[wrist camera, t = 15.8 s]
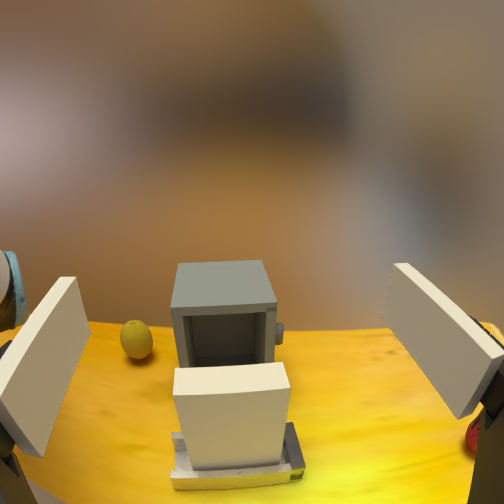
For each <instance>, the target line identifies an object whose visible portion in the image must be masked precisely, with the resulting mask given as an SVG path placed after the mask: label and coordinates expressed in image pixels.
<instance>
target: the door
mask: <svg viewBox="0 0 504 504" xmlns="http://www.w3.org/2000/svg"><path fill="white" fill-rule="evenodd" d="M289 396H290V384H289V381H288V378H287V375H286V371H285V368H284V365H283V362H275V363H264V364H252V365H238V366H221V367H198V368H175V376H174V387H173V398H174V402H175V406H176V410H177V414H178V418H179V422H180V426H181V430H182V434H183V437H184V441H185V445H186V448H187V452H188V455H189V459H190V462H191V466H192V469H193V471H215V470H233V469H246V468H257V467H266V466H274V465H280V460H281V453H282V447H283V440H284V433H285V426H286V419H287V411H288V403H289Z"/></svg>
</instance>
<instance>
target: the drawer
mask: <svg viewBox="0 0 504 504" xmlns="http://www.w3.org/2000/svg"><path fill="white" fill-rule="evenodd" d="M171 439H172V442H173V445H174V448H175V471H170V479H171V482H172V484H173V486H174V488H175V490H218V489H235V488H248V487H258V486H267V485H275V484H282V483H289V482H295V481H301V479H302V476H303V473H304V469H305V463H304V459H303V456H302V452H301V449H300V445H299V442H298V438H297V435H296V431H295V428H294V424H293V422H289V423H286V426H285V433H284V440H283V447H282V453H281V460H280V465H274V466H266V467H257V468H246V469H233V470H215V471H193V469H192V466H191V462H190V459H189V455H188V452H187V448H186V445H185V441H184V437H183V434H182V432H172V438H171Z"/></svg>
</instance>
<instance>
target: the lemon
mask: <svg viewBox="0 0 504 504" xmlns="http://www.w3.org/2000/svg"><path fill="white" fill-rule="evenodd" d="M120 339H121V345H122V347H123V349H124V351H125V352H126V354H128V355H129V356H130V357H132V358H135V359H142V358H144V357H146V356H147V355H149V353H150V352H151V350H152V346H153V339H152V335H151V332H150V330H149V328H148V327H147V326H146V325H145V324H144V323H143V322H141V321H138V320H131V321H129V322H127V323H126V324H124V326H123V327H122V329H121V334H120Z"/></svg>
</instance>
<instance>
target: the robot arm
mask: <svg viewBox="0 0 504 504" xmlns="http://www.w3.org/2000/svg"><path fill="white" fill-rule="evenodd" d="M382 319H383V320H384V321H385V322H386V324H387V325H388V326H389V328H390V329H391V330H392V332H393V333H394V334H395V335H396V337H397V338H398V339H399V341H400V342H401V343H402V345H403V346H404V347H405V348H406V350H407V351H408V352H409V354H410V355H411V356H412V358H413V359H414V360H415V362H416V363H417V364H418V366H419V367H420V368H421V370H422V371H423V373H424V374H425V375H426V377H427V378H428V379H429V381H430V382H431V383H432V385H433V386H434V388H435V389H436V390H437V392H438V393H439V395H440V396H441V397H442V399H443V400H444V402H445V403H446V404H447V406H448V407H449V409H450V410H451V412H452V413H453V414H454V416H455V417H456V419H457V420H459V419H461V418H463V417H465V416H468V415H470V414H472V413H473V411H474V410H475V408H476V407H477V405H478V403H479V402H481V403H482V404H483V406H484V407H483V409H482V410H481V412H480V413H479V415H478V416H477V418H476V419H475V421H474V422H473V424H472V426H471V429H473V428H474V427H475V426H476V424H477V423H478V422H479V427H478V428H477V430H479V432H478V442H477V450H476V458H475V465H474V471H473V477H472V483H471V488H470V493H469V497H468V502H467V504H504V346H503V345H502V344H501V343H500V342H499V341H498V340H497V339H496V338H495V337H494V336H493V335H490V332H489V331H488V330H486V329H484V327H483V326H482V325H481V324H480V323H479V322H478V321H477V320H476V319H474V318H472V317H471V316H469V315H467V314H465V313H464V312H463V311H462V310H461V309H460V308H459V307H458V306H457V305H456V304H454V303H453V302H452V301H451V300H450V299H449V298H448V297H447V296H446V295H444V294H443V293H442V292H441V291H440V290H439V289H438V288H436V287H435V286H434V285H433V284H432V283H431V282H430V281H428V280H427V279H426V278H425V277H424V276H423V275H421V274H420V273H419V272H418V271H417V270H415V269H414V268H413V267H411V265H409V264H408V263H400V264H393V269H392V274H391V278H390V283H389V287H388V292H387V296H386V301H385V305H384V309H383V313H382ZM23 324H24V325H23ZM20 325H23V327H22V328H21V330H20V331H19V333H18V334H17V335H16V337H15V338H14V340H9V341H8V342H7V343H5V344H4V345H3V346H2V347H1V348H0V504H37V501H36V499H35V497H34V495H33V493H32V491H31V489H30V487H29V485H28V483H27V480H26V478H25V476H24V474H23V471H22V469H21V466H20V464H19V461H18V459H17V457H16V455H15V454H14V452H13V451H12V449H13V447H14V444H15V443H16V444H17V446H18V447H19V448H20V449H21V451H22V452H23V453H24V454H28V455H32V456H36V457H40V458H43V456H44V453H45V450H46V447H47V444H48V441H49V438H50V435H51V432H52V429H53V426H54V423H55V420H56V418H57V415H58V412H59V409H60V407H61V404H62V401H63V399H64V396H65V394H66V391H67V388H68V386H69V383H70V381H71V378H72V376H73V374H74V371H75V369H76V366H77V364H78V362H79V359H80V357H81V355H82V352H83V350H84V348H85V345H86V343H87V341H88V339H89V336H90V334H91V331H90V328H89V325H88V321H87V318H86V314H85V310H84V307H83V303H82V299H81V295H80V291H79V287H78V283H77V279H76V277H60V278H59V279H58V281H57V282H56V283H55V284H54V285H53V287H52V288H51V289H50V291H49V292H48V293H47V294H46V296H45V297H44V298H43V300H42V301H41V303H40V304H39V305H38V306H37V308H36V309H35V310H34V312H33V313H32V314H31V316H30V317H29V311H28V306H27V301H26V298H25V293H24V287H23V282H22V278H21V273H20V269H19V265H18V260H17V257H16V255H15V253H14V252H6V251H5V252H2V251H1V249H0V332H3V331H6V330H9V329H11V330H12V329H15V328H16V327H18V326H20Z"/></svg>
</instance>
